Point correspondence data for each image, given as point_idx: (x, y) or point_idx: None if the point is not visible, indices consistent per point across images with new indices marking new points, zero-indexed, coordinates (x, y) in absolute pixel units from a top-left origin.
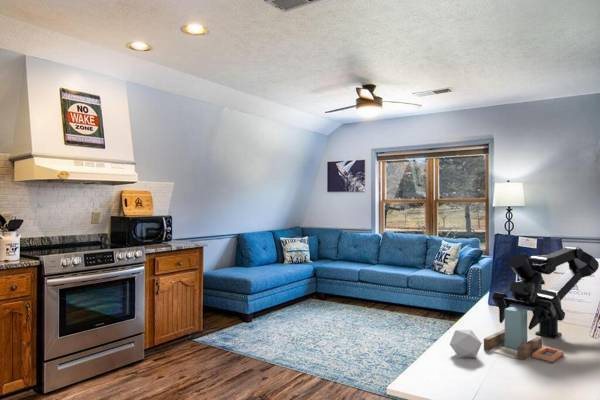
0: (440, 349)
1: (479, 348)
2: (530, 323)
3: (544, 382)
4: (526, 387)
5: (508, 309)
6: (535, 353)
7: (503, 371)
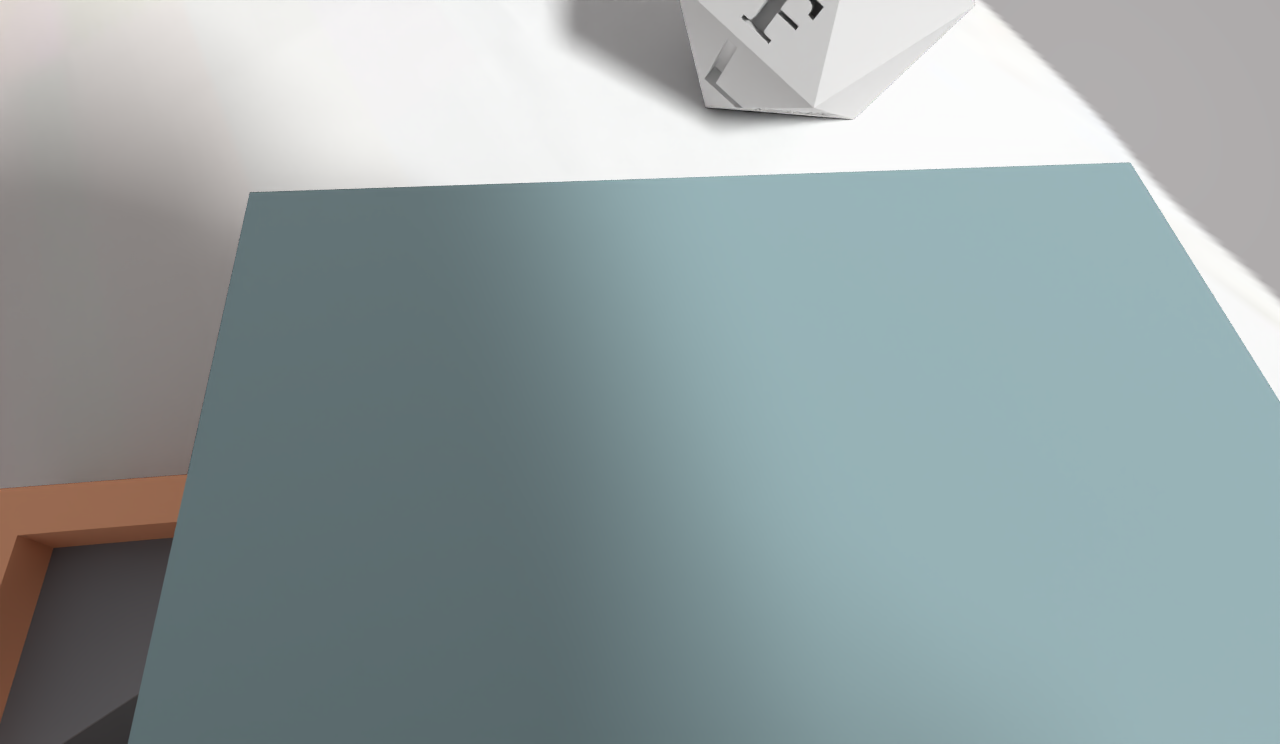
0: (988, 65)
1: (686, 29)
2: (121, 731)
3: (64, 67)
4: None
5: (992, 227)
6: None
7: (398, 40)
